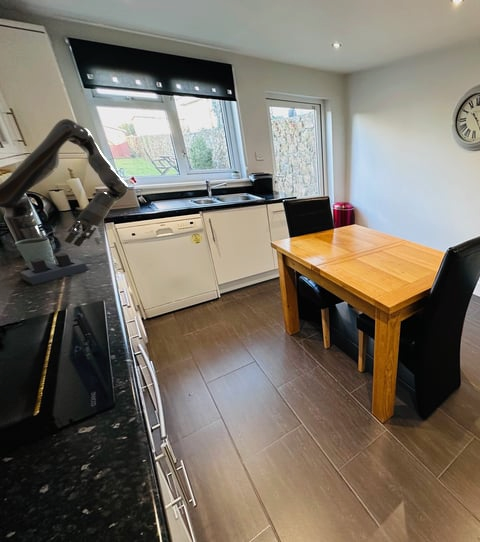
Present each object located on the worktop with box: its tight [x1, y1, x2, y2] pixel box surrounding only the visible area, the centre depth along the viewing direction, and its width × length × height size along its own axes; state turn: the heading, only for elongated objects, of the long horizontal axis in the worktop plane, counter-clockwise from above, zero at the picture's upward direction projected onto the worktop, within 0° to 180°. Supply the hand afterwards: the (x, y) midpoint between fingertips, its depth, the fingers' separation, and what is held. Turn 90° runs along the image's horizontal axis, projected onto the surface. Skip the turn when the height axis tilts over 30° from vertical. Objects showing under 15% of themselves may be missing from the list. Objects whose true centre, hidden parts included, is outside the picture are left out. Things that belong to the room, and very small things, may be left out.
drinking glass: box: [14, 237, 56, 270], centre depth 128 cm, size 10×10×12 cm
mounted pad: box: [30, 258, 48, 273], centre depth 117 cm, size 4×3×8 cm
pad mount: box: [19, 258, 89, 286], centre depth 121 cm, size 10×18×4 cm, turn 153°
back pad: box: [54, 252, 72, 267], centre depth 123 cm, size 4×3×8 cm
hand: (71, 243), depth 124 cm, fingers open, 8 cm apart
